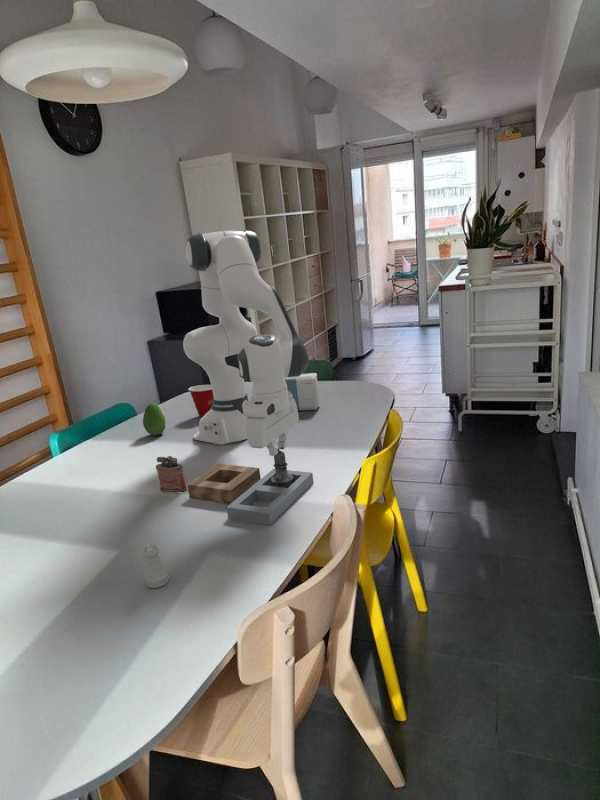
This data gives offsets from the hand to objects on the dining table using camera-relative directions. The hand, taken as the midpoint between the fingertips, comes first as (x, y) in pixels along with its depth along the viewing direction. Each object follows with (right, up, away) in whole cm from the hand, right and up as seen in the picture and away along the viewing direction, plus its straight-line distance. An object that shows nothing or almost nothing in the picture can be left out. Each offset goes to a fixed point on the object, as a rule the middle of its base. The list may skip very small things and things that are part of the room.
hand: (278, 451), depth 141 cm
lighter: (-30, -12, +12) cm, 34 cm away
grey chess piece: (+1, -11, +3) cm, 11 cm away
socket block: (-15, -11, +8) cm, 20 cm away
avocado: (-47, 0, +61) cm, 77 cm away
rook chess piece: (-23, -24, -31) cm, 45 cm away
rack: (-1, -12, -1) cm, 12 cm away
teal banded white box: (+3, +9, +72) cm, 73 cm away
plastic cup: (-32, +7, +77) cm, 84 cm away
